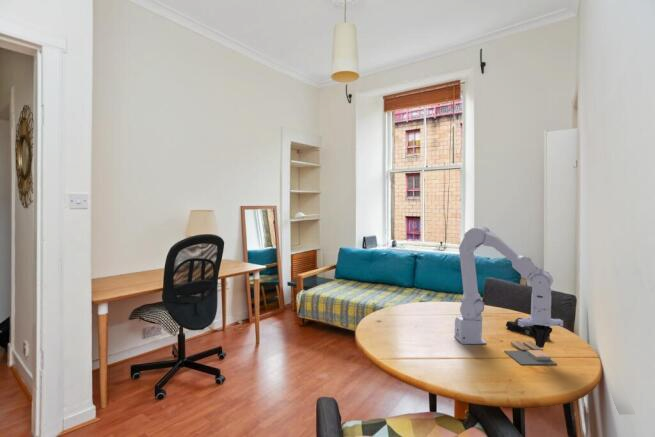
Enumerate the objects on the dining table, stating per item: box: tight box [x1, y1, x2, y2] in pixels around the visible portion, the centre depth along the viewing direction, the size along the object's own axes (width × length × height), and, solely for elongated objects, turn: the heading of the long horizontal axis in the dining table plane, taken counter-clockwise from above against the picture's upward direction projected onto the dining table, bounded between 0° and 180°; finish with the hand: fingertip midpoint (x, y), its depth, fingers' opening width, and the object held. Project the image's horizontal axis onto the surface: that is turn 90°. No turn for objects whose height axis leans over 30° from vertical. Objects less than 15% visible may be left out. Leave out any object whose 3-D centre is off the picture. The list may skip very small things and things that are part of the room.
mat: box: [503, 350, 558, 366], centre depth 115 cm, size 12×10×1 cm
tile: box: [527, 349, 552, 360], centre depth 115 cm, size 1×5×5 cm
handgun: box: [505, 317, 551, 342], centre depth 139 cm, size 3×17×12 cm
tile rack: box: [510, 340, 544, 352], centre depth 123 cm, size 8×7×1 cm
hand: (539, 346), depth 115 cm, fingers closed
